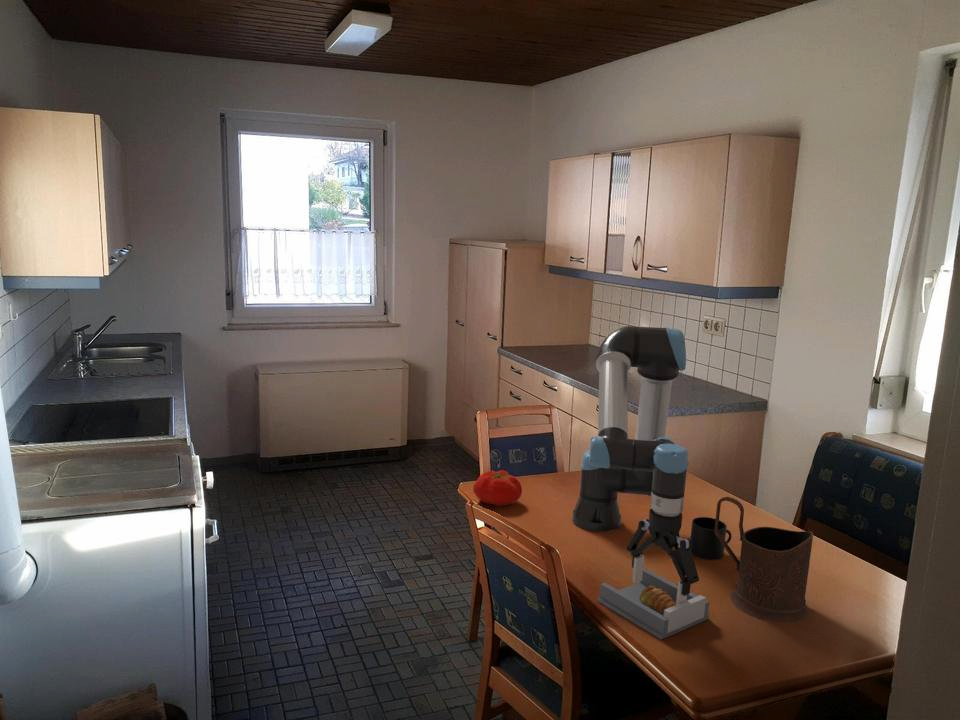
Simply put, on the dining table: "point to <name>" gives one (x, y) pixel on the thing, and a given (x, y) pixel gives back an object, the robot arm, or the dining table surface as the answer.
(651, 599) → the pastry
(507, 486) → the tomato
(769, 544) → the brown pitcher
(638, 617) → the tray
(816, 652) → the dining table surface
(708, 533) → the mug
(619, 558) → the dining table surface
